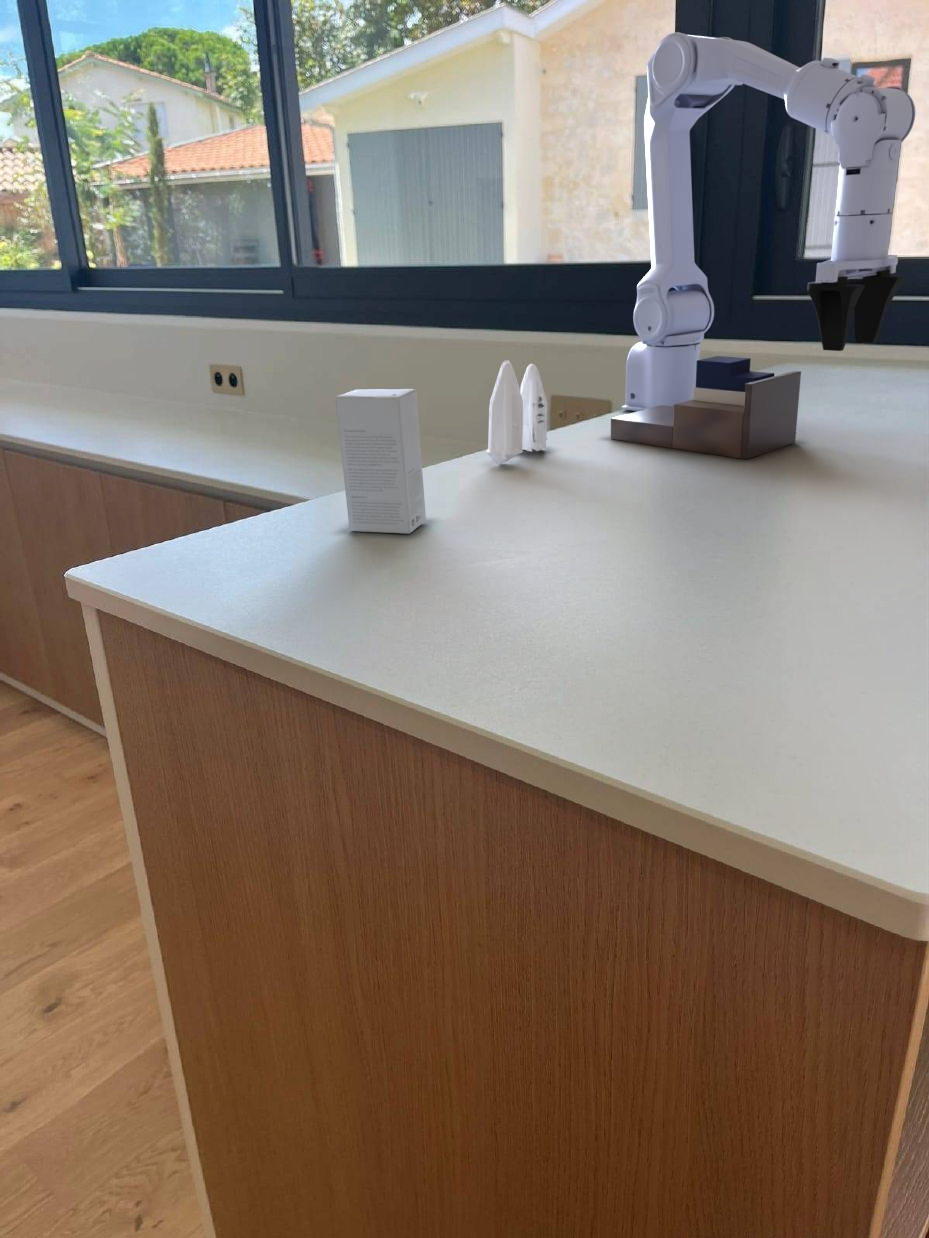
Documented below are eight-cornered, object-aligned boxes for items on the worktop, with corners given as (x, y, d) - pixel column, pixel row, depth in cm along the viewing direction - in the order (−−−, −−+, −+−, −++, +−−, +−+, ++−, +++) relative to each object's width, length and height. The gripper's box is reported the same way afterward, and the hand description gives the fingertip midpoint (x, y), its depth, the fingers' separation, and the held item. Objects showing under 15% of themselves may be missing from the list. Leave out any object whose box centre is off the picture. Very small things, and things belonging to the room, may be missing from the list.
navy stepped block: (692, 400, 108) (694, 360, 106) (712, 395, 111) (714, 355, 109) (754, 407, 103) (757, 364, 101) (774, 401, 105) (777, 360, 103)
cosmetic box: (427, 521, 86) (418, 388, 82) (409, 535, 83) (399, 396, 78) (367, 518, 88) (354, 388, 84) (347, 531, 85) (333, 396, 80)
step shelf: (610, 438, 115) (611, 371, 112) (660, 425, 121) (662, 360, 118) (747, 459, 102) (752, 384, 99) (795, 443, 108) (801, 371, 105)
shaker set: (512, 472, 102) (509, 367, 98) (477, 469, 104) (473, 366, 99) (555, 448, 112) (554, 351, 107) (522, 446, 113) (520, 351, 109)
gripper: (868, 215, 94) (853, 356, 99) (930, 211, 103) (913, 340, 108) (802, 218, 99) (791, 352, 104) (867, 214, 108) (854, 337, 113)
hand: (849, 346), depth 106 cm, fingers open, 7 cm apart
